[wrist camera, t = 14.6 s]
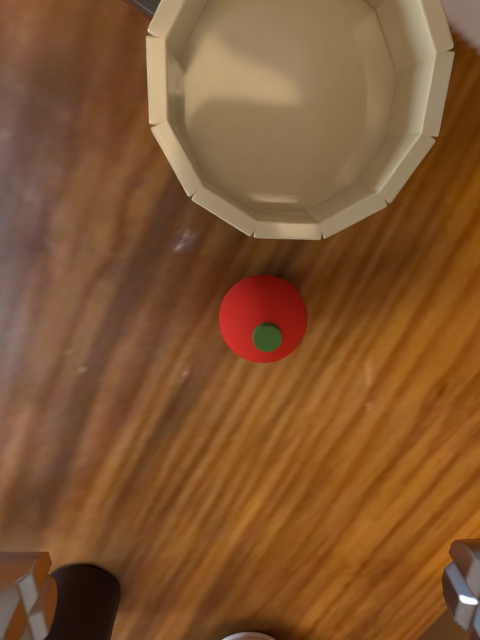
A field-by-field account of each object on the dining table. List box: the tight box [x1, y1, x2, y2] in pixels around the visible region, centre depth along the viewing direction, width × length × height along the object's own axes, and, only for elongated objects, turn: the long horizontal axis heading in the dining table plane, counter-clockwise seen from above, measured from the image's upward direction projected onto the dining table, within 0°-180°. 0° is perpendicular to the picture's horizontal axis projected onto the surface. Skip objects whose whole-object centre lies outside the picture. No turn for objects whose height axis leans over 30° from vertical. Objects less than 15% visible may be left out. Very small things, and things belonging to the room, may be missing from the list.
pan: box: [122, 0, 455, 240], centre depth 17 cm, size 16×9×12 cm, turn 58°
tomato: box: [219, 274, 307, 363], centre depth 26 cm, size 5×5×6 cm
